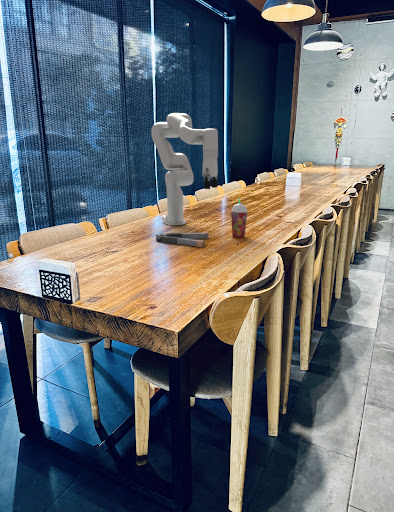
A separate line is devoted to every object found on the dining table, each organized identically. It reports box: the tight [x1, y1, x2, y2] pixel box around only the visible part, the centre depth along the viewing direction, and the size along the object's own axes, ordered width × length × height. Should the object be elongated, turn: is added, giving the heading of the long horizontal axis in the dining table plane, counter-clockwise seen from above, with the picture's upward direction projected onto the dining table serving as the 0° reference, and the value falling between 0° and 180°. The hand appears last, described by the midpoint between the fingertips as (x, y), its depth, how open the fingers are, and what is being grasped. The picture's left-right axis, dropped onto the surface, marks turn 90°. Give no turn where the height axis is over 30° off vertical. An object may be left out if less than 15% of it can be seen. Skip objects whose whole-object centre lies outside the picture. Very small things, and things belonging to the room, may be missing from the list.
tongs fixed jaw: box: [161, 236, 206, 248], centre depth 179 cm, size 22×3×3 cm, turn 64°
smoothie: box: [230, 197, 248, 239], centre depth 192 cm, size 8×8×20 cm
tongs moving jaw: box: [155, 231, 210, 242], centre depth 188 cm, size 26×5×3 cm, turn 99°
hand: (210, 188), depth 196 cm, fingers open, 9 cm apart
